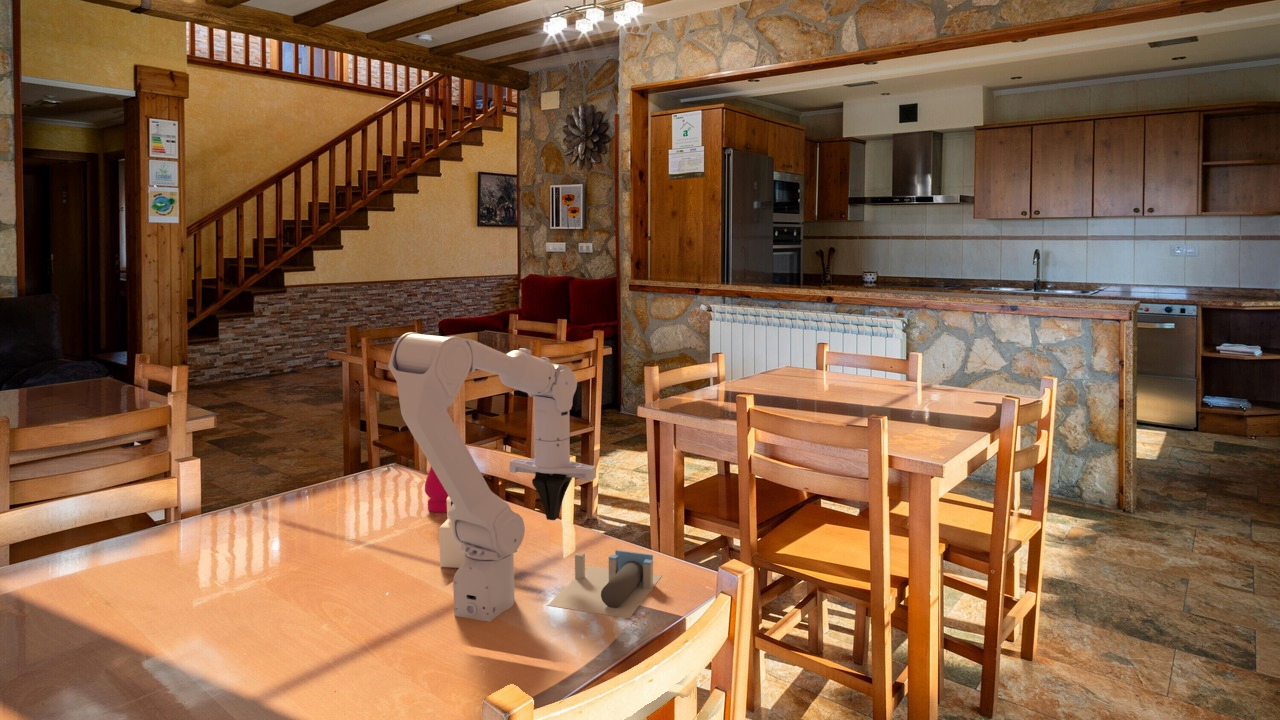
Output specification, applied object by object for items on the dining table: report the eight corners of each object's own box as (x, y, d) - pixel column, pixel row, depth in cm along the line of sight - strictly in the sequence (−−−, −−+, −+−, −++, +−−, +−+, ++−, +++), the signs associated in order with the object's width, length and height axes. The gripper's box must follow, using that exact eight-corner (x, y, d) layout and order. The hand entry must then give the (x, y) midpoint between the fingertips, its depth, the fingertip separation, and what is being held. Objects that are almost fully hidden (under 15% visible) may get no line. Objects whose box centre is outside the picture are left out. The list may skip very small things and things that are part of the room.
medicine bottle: (492, 553, 146) (490, 488, 144) (480, 569, 139) (478, 500, 137) (453, 551, 146) (451, 486, 145) (439, 567, 139) (437, 499, 138)
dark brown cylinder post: (623, 609, 122) (623, 586, 121) (600, 605, 123) (601, 582, 123) (643, 584, 131) (644, 562, 130) (622, 580, 132) (623, 559, 132)
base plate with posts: (629, 623, 119) (629, 586, 119) (547, 610, 123) (547, 574, 123) (661, 580, 134) (662, 547, 134) (588, 570, 138) (587, 538, 138)
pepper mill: (417, 510, 169) (414, 414, 166) (441, 500, 175) (438, 408, 172) (445, 515, 165) (441, 418, 162) (468, 505, 172) (465, 411, 169)
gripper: (602, 435, 134) (603, 515, 136) (522, 428, 139) (524, 505, 141) (586, 445, 128) (586, 529, 130) (502, 437, 132) (504, 519, 134)
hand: (552, 518), depth 135 cm, fingers closed
